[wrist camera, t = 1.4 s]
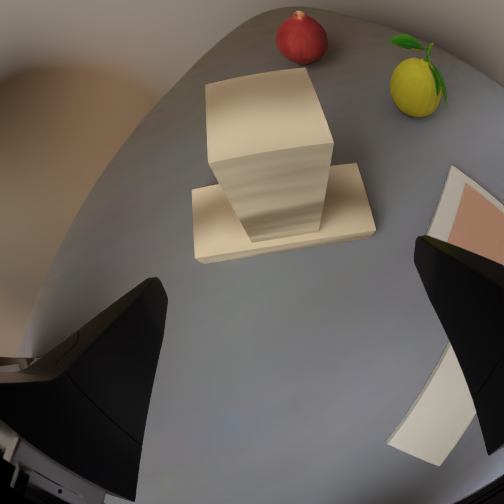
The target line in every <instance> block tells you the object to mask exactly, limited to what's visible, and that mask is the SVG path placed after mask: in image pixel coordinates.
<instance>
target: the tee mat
mask: <svg viewBox="0 0 504 504" xmlns="http://www.w3.org/2000/svg"><path fill="white" fill-rule="evenodd" d="M426 235H428V236H431V237H434V238H437V239H439V240H442V241H445V242H447V243H450V244H453V245H455V246H458V247H461V248H463V249H466V250H468V251H471V252H473V253H476V254H478V255H481V256H483V257H486V258H488V259H491V260H493V261H495V262H498V263H500V264H502V265H504V206H503V205H502V204H501V203H500V202H499V201H498V200H496V199H495V198H494V197H493V196H492V195H491V194H489V193H488V192H487V191H486V190H484V189H483V188H482V187H481V186H479V185H478V184H477V183H476V182H474V181H473V180H472V179H470V178H469V177H468V176H466V175H465V174H464V173H462V172H461V171H460V170H458V169H457V168H455V167H454V166H452V165H451V167H450V168H449V171H448V174H447V178H446V181H445V184H444V187H443V190H442V193H441V196H440V199H439V202H438V204H437V207H436V210H435V213H434V215H433V218H432V220H431V223H430V226H429V228H428V231H427V233H426ZM475 414H476V410H475V407H474V404H473V400H472V397H471V394H470V391H469V388H468V386H467V383H466V380H465V378H464V375H463V372H462V370H461V367H460V365H459V362H458V360H457V357H456V355H455V353H454V350H453V348H452V346H451V343H450V341H449V342H448V344H447V346H446V348H445V350H444V352H443V354H442V356H441V358H440V360H439V362H438V364H437V365H436V367H435V369H434V371H433V372H432V374H431V376H430V378H429V379H428V381H427V383H426V384H425V386H424V388H423V389H422V391H421V393H420V394H419V396H418V397H417V399H416V400H415V402H414V403H413V405H412V406H411V408H410V409H409V411H408V412H407V414H406V415H405V417H404V418H403V419H402V421H401V422H400V424H399V425H398V426H397V428H396V429H395V430H394V432H393V433H392V434H391V436H390V437H389V438H388V439H387V441H386V442H387V444H389V445H391V446H393V447H395V448H397V449H399V450H401V451H404V452H406V453H408V454H410V455H413V456H415V457H417V458H420V459H422V460H424V461H427V462H429V463H432V464H434V465H437V466H440V465H441V464H442V463H443V461H444V460H445V459H446V457H447V456H448V455H449V453H450V452H451V451H452V449H453V448H454V446H455V445H456V444H457V442H458V441H459V439H460V438H461V436H462V435H463V433H464V432H465V430H466V429H467V427H468V425H469V424H470V422H471V421H472V419H473V417H474V416H475Z"/></svg>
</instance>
